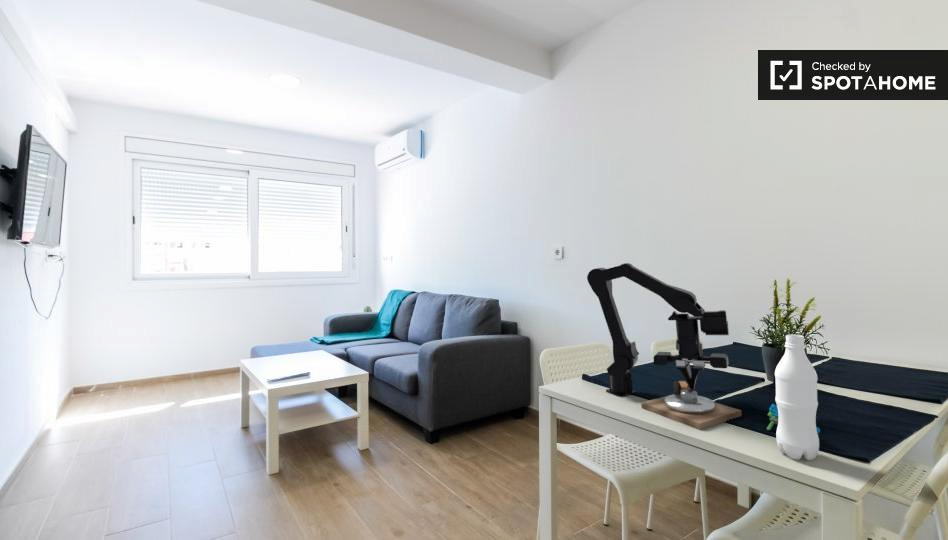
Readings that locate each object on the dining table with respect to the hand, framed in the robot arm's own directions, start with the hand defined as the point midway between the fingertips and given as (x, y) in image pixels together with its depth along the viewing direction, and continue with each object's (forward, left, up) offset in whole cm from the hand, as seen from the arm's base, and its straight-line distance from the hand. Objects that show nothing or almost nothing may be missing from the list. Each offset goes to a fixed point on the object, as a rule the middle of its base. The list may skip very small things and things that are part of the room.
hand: (692, 389), depth 126 cm
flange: (+3, -6, -2) cm, 7 cm away
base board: (+5, -8, -3) cm, 10 cm away
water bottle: (+33, -11, -4) cm, 35 cm away
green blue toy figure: (+27, -2, -4) cm, 27 cm away
